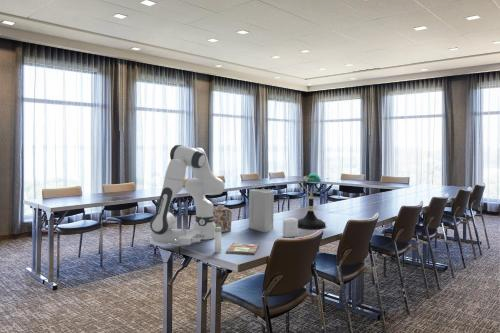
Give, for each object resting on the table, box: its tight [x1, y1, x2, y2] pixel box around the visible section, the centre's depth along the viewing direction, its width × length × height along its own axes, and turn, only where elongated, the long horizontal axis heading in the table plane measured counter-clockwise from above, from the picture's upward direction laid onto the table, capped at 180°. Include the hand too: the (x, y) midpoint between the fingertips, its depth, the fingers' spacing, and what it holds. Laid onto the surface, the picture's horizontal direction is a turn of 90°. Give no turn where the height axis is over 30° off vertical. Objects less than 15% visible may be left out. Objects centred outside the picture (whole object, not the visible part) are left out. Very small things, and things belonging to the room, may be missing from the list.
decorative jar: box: [213, 204, 233, 233], centre depth 272 cm, size 12×12×18 cm
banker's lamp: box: [297, 172, 327, 230], centre depth 292 cm, size 26×23×40 cm
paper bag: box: [248, 188, 275, 233], centre depth 281 cm, size 19×15×28 cm
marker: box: [214, 227, 222, 254], centre depth 218 cm, size 4×4×14 cm
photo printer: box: [282, 217, 299, 238], centre depth 258 cm, size 10×4×12 cm, turn 113°
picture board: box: [225, 242, 260, 256], centre depth 224 cm, size 18×16×1 cm
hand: (202, 238), depth 220 cm, fingers open, 8 cm apart
